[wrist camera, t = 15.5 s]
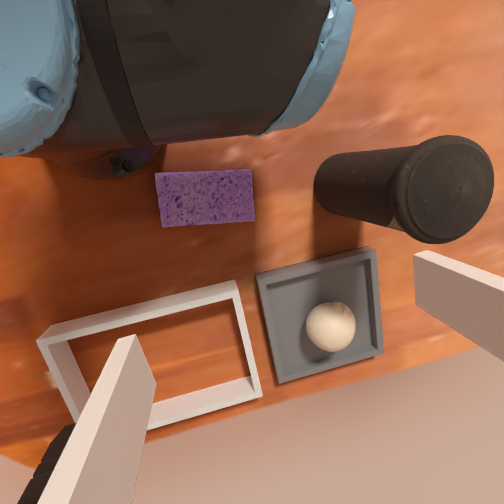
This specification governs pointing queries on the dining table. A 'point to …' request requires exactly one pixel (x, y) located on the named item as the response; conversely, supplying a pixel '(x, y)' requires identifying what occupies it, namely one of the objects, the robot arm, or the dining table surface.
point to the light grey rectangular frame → (58, 334)
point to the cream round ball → (331, 326)
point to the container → (411, 187)
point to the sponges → (205, 197)
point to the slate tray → (311, 295)
